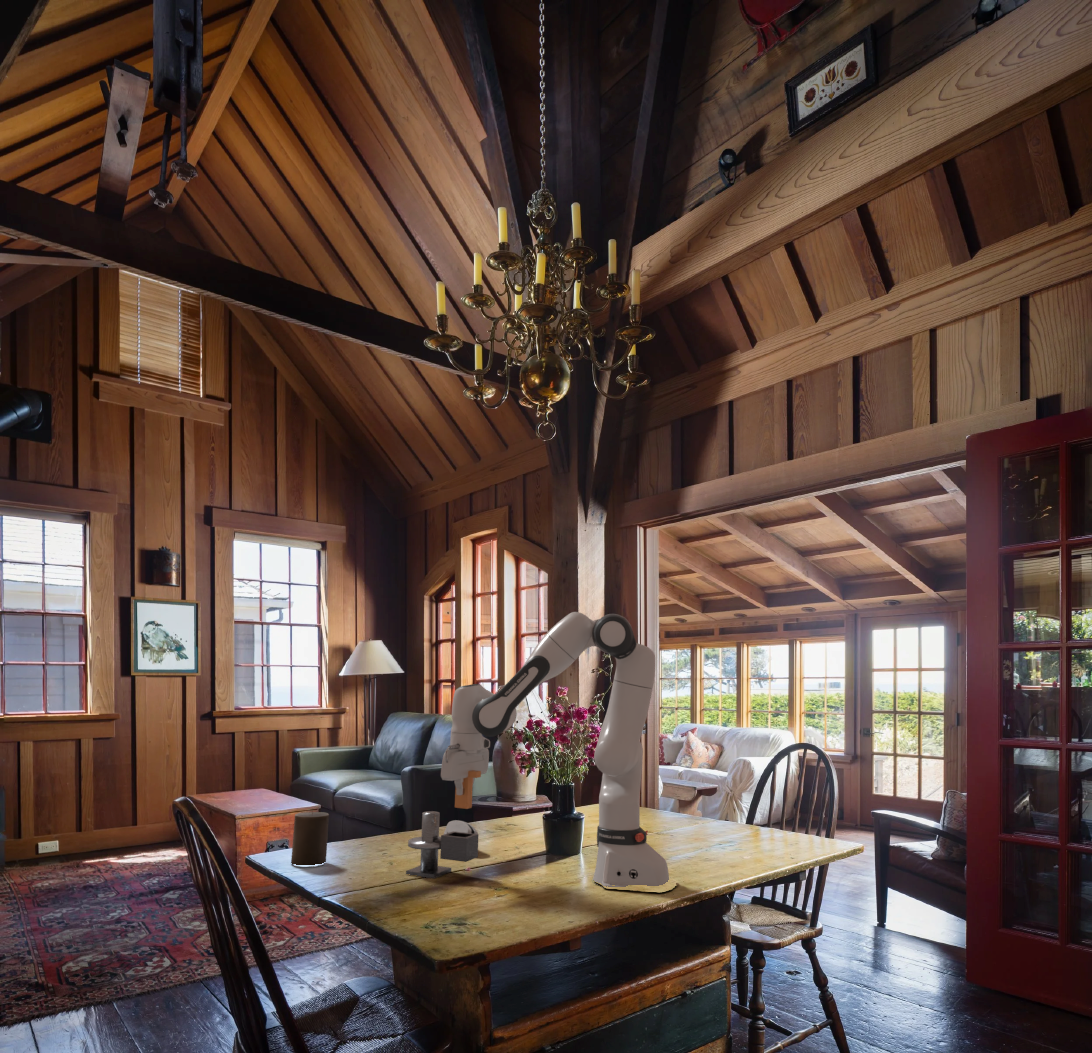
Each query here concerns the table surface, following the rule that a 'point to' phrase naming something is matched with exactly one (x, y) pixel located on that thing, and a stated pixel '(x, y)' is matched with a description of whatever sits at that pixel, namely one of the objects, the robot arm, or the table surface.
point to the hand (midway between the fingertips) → (464, 794)
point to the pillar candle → (310, 838)
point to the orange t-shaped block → (466, 791)
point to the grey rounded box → (460, 827)
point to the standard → (441, 847)
